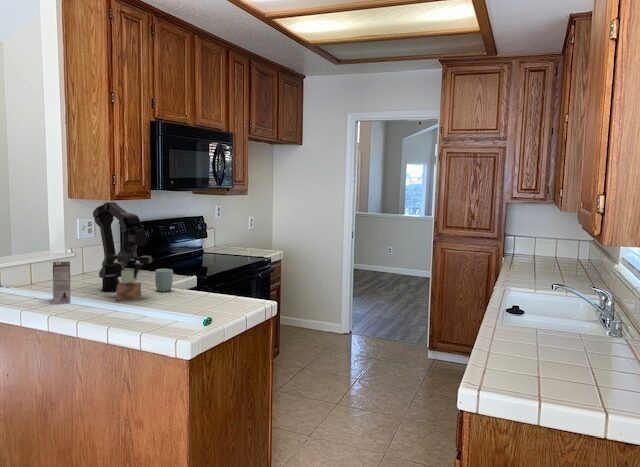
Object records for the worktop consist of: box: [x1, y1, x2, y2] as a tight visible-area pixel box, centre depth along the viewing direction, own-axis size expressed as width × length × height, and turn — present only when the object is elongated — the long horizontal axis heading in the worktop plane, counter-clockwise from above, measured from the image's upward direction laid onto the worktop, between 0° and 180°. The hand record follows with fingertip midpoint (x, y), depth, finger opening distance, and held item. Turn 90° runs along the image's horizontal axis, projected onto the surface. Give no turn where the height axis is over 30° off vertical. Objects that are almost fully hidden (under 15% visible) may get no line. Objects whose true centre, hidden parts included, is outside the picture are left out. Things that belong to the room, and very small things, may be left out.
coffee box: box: [52, 260, 71, 305], centre depth 204 cm, size 9×6×16 cm
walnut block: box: [115, 281, 142, 301], centre depth 216 cm, size 9×9×6 cm
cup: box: [154, 268, 174, 293], centre depth 231 cm, size 8×8×10 cm
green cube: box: [120, 268, 138, 282], centre depth 215 cm, size 5×5×5 cm
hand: (129, 278), depth 215 cm, fingers closed on green cube, 5 cm apart
